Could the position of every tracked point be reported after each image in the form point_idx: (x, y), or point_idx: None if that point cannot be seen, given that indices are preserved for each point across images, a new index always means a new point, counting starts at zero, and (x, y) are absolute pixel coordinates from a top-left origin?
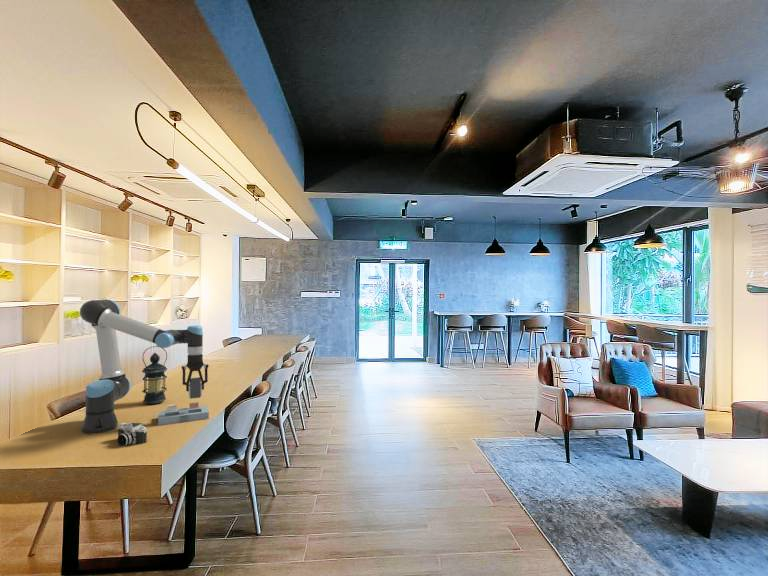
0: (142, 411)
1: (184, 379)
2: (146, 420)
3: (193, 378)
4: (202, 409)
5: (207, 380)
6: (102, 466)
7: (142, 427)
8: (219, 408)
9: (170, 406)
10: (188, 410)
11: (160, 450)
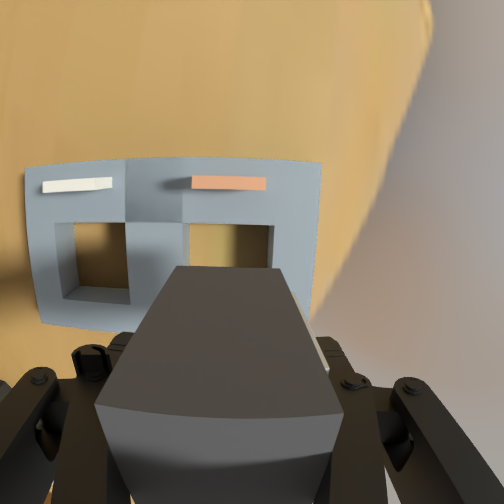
0: (13, 29)
1: (42, 479)
2: (7, 191)
3: (182, 457)
4: (281, 258)
5: (408, 445)
6: (49, 491)
7: (52, 484)
8: (390, 140)
9: (63, 190)
10: (188, 222)
11: (131, 500)
